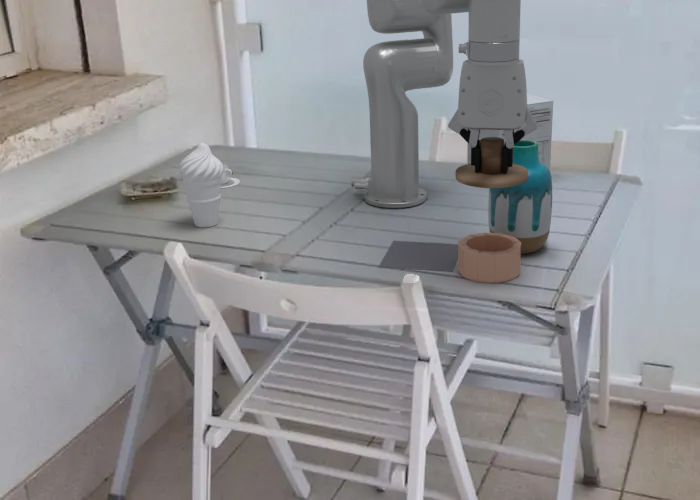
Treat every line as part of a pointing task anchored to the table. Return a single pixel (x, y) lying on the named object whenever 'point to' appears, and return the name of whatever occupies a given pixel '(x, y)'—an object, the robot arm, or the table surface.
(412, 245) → the mat
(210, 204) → the soft serve ice cream cone
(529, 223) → the vase
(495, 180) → the lid
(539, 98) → the supplement box
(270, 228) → the table surface
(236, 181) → the teacup and saucer
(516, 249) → the bowl
